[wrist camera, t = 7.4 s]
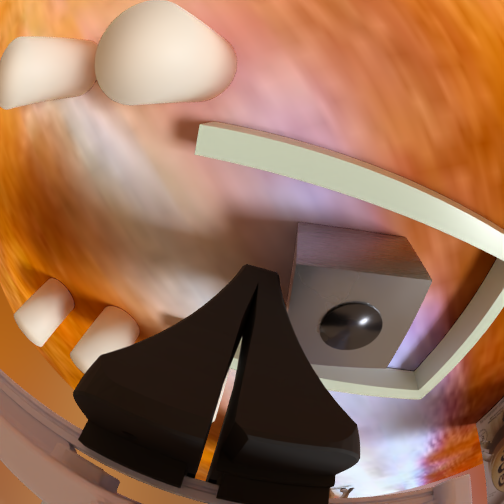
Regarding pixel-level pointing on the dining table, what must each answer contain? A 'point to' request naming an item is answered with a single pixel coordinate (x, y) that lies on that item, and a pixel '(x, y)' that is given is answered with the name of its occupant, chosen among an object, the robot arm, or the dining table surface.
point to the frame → (392, 198)
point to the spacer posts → (124, 92)
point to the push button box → (353, 294)
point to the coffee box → (493, 451)
